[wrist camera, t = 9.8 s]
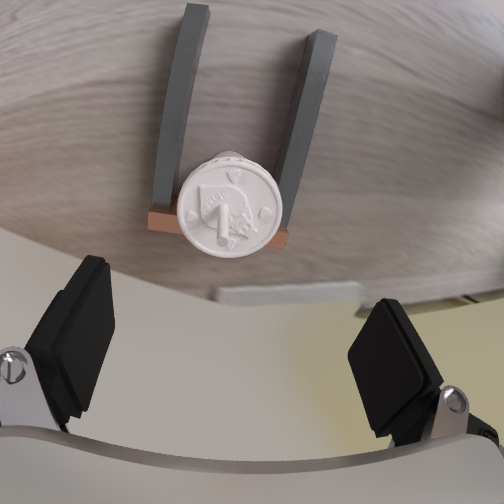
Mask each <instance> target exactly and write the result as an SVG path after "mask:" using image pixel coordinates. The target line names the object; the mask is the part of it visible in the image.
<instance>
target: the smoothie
mask: <svg viewBox="0 0 504 504" xmlns="http://www.w3.org/2000/svg"><path fill="white" fill-rule="evenodd" d="M177 217H178V222H179V225H180V228H181V230H182V232H183V233H184V235H185V236H186V238H187V239H188V240H189V241H190V242H191V243H192V244H193V245H194V246H195V247H196V248H198V249H199V250H201V251H203V252H205V253H207V254H209V255H212V256H216V257H221V258H237V257H242V256H246V255H249V254H251V253H254V252H255V251H257V250H259V249H261V248H262V247H263V246H265V245H266V244H267V243H268V242H269V241H270V240H271V239H272V237H273V236H274V235H275V233H276V231H277V229H278V227H279V225H280V222H281V218H282V200H281V195H280V192H279V189H278V187H277V184H276V182H275V181H274V179H273V178H272V177H271V175H270V174H269V172H267V171H266V170H265V169H264V168H262V167H261V166H260V165H258V164H257V163H255V162H252V161H250V160H247V159H245V158H244V157H243V156H242V155H240V154H239V153H237V152H233V151H224V152H221V153H218V154H217V155H215V156H214V157H213V158H212V159H211V160H210V161H208V162H206V163H203V164H202V165H200V166H199V167H198V168H196V169H195V170H194V171H193V172H191V174H190V175H189V176H188V178H187V179H186V180H185V182H184V183H183V185H182V188H181V191H180V194H179V198H178V203H177Z"/></svg>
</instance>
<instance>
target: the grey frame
mask: <svg viewBox="0 0 504 504" xmlns="http://www.w3.org/2000/svg"><path fill="white" fill-rule="evenodd" d="M209 18H210V11H209V6H208V5H201V4H190V3H187V6H186V9H185V13H184V17H183V20H182V24H181V28H180V32H179V36H178V40H177V44H176V48H175V53H174V57H173V62H172V66H171V71H170V76H169V81H168V86H167V91H166V97H165V102H164V108H163V114H162V120H161V127H160V134H159V141H158V148H157V156H156V164H155V173H154V182H153V193H152V204H151V208H150V210H149V212H148V228H147V229H149V230H156V231H162V232H169V233H176V234H183V235H184V233H183V232H182V230H181V228H180V225H179V222H178V217H177V203H178V198H177V197H175V195H176V187H177V179H178V172H179V165H180V158H181V152H182V145H183V139H184V133H185V127H186V122H187V116H188V111H189V105H190V100H191V95H192V90H193V85H194V80H195V76H196V71H197V66H198V62H199V58H200V53H201V49H202V45H203V41H204V37H205V33H206V29H207V25H208V21H209ZM336 40H337V35H334V34H331V33H328V32H326V31H323V30H319V29H318V30H316V31H314V32H313V33H311V34H310V35H308V38H307V42H306V47H305V51H304V55H303V59H302V63H301V67H300V71H299V75H298V79H297V83H296V87H295V91H294V95H293V99H292V103H291V107H290V111H289V115H288V119H287V123H286V127H285V131H284V135H283V139H282V143H281V147H280V151H279V155H278V159H277V163H276V167H275V171H274V175H273V179H274V181H275V182H276V184H277V187H278V189H279V192H280V195H281V200H282V218H281V222H280V225H279V227H278V229H277V231H276V233H275V235H274V236H273V237H272V239H271V240H270V241H269V242H268V243H267V244H266V245H265V246H263V247H270V248H276V249H283V250H284V247H285V244H286V240H287V237H288V234H289V233H288V230H287V224H288V221H289V218H290V214H291V211H292V207H293V204H294V200H295V197H296V193H297V189H298V186H299V182H300V179H301V175H302V172H303V168H304V164H305V161H306V157H307V153H308V150H309V146H310V142H311V139H312V135H313V131H314V127H315V124H316V120H317V116H318V112H319V108H320V104H321V101H322V97H323V93H324V89H325V85H326V81H327V77H328V73H329V69H330V65H331V61H332V57H333V53H334V49H335V44H336Z"/></svg>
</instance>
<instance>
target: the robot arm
mask: <svg viewBox="0 0 504 504" xmlns="http://www.w3.org/2000/svg"><path fill="white" fill-rule="evenodd" d="M114 329H115V318H114V310H113V299H112V288H111V275H110V265H109V263H105V259H104V258H103V257H97V256H92V255H87V256H86V257H85V259H84V260H83V262H82V263H81V265H80V266H79V267H78V269H77V270H76V272H75V273H74V275H73V276H72V278H71V279H70V281H69V282H68V284H67V286H66V287H65V288H64V290H60V291H59V292H58V293H57V294H56V296H55V297H54V299H53V300H52V302H51V304H50V305H49V307H48V308H47V310H46V312H45V313H44V315H43V317H42V318H41V320H40V322H39V323H38V325H37V327H36V328H35V330H34V332H33V334H32V335H31V337H30V339H29V341H28V342H27V344H26V346H25V348H24V349H22V348H20V347H14V346H12V347H7V348H4V349H2V350H0V504H504V448H503V446H502V445H499V438H498V434H497V432H496V430H495V429H493V428H492V427H491V426H490V425H488V424H486V423H484V422H483V421H482V420H480V419H479V418H477V417H475V416H474V415H472V414H471V413H469V402H468V399H467V397H466V396H465V394H464V393H463V392H462V391H461V390H460V389H459V388H456V387H454V386H450V385H448V386H445V387H444V388H443V389H442V390H440V388H439V386H440V385H441V384H442V383H443V382H444V380H443V378H442V376H441V375H440V373H439V371H438V369H437V367H436V365H435V363H434V361H433V360H432V358H431V356H430V354H429V353H428V351H427V349H426V347H425V345H424V343H423V342H422V340H421V338H420V336H419V335H418V333H417V332H416V330H415V328H414V326H413V325H412V323H411V321H410V320H409V318H408V316H407V315H406V313H405V311H404V310H403V308H402V306H401V305H400V303H399V302H398V301H397V300H395V299H386V298H383V299H381V300H380V302H377V303H376V305H375V306H374V308H373V310H372V312H371V314H370V315H369V317H368V319H367V321H366V323H365V324H364V326H363V328H362V329H361V331H360V333H359V334H358V336H357V338H356V339H355V341H354V343H353V344H352V346H351V347H350V349H349V351H348V361H349V363H350V366H351V369H352V372H353V375H354V378H355V381H356V384H357V387H358V390H359V393H360V396H361V399H362V402H363V405H364V408H365V411H366V415H367V418H368V421H369V424H370V427H371V429H372V430H373V431H374V432H375V435H376V438H379V437H385V436H388V435H389V434H391V435H392V439H391V441H390V444H389V446H388V449H384V450H379V451H374V452H368V453H362V454H356V455H349V456H340V457H332V458H323V459H311V460H296V461H228V460H211V459H200V458H190V457H182V456H174V455H167V454H161V453H155V452H149V451H144V450H138V449H132V448H128V447H123V446H118V445H113V444H109V443H105V442H101V441H97V440H93V439H89V438H86V437H81V436H77V435H73V434H71V433H70V431H69V429H68V427H67V425H66V423H68V422H69V419H70V416H73V417H76V418H79V419H80V418H81V414H82V411H84V412H86V411H87V410H88V408H89V404H90V401H91V398H92V394H93V391H94V388H95V385H96V382H97V379H98V375H99V373H100V370H101V367H102V364H103V361H104V358H105V355H106V352H107V350H108V347H109V344H110V341H111V338H112V336H113V333H114Z"/></svg>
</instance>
